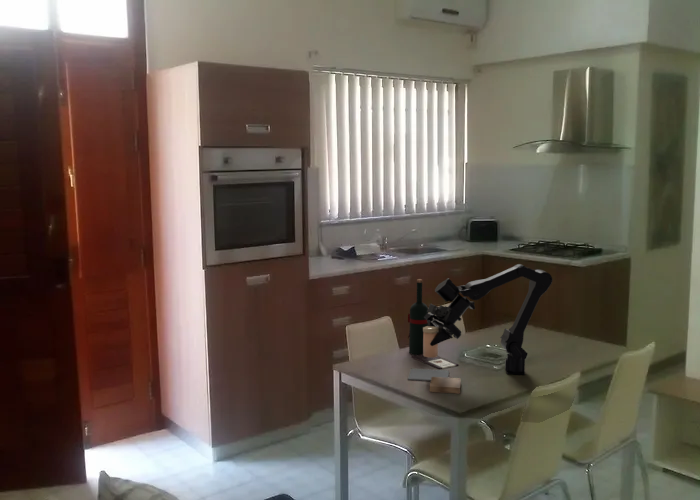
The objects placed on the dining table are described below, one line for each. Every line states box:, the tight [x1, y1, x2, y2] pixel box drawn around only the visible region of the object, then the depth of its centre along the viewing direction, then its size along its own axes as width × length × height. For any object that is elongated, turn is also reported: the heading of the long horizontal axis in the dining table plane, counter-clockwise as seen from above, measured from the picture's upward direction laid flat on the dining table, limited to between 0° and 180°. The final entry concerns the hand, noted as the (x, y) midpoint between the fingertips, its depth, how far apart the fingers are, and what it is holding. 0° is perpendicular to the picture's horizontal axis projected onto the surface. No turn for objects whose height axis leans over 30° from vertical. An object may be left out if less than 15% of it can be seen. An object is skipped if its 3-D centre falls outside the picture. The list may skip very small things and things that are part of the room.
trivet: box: [429, 377, 462, 394], centre depth 230 cm, size 10×10×2 cm
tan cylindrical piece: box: [423, 326, 439, 357], centre depth 240 cm, size 6×6×10 cm
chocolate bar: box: [411, 354, 459, 370], centre depth 260 cm, size 9×1×18 cm
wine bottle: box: [407, 278, 429, 356], centre depth 272 cm, size 8×10×30 cm
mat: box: [407, 368, 450, 382], centre depth 243 cm, size 14×12×1 cm
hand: (427, 343), depth 240 cm, fingers closed on tan cylindrical piece, 5 cm apart
